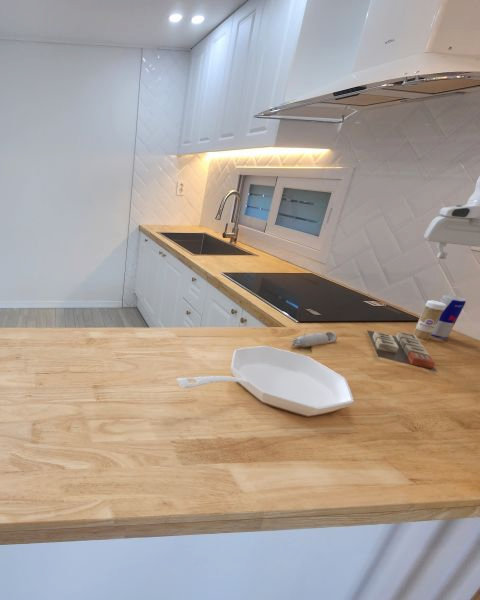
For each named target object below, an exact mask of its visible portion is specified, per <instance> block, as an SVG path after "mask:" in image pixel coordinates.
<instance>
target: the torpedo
mask: <svg viewBox="0 0 480 600" xmlns="http://www.w3.org/2000/svg"><path fill="white" fill-rule="evenodd" d="M307 329H308V328H307V327H306V328H305V331H304V335H300V336H298V337H297V338H296V337H295V338H294V339H293V340H290V342H291V347H300V348H309V347H313V346H320V345H327V344H332V343H335V342H336V341H337V340H338V335H337V334H336V333H334V332H332V331H327V332H326V333H325V332H317V333H311V334H306V333H307Z"/></svg>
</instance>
